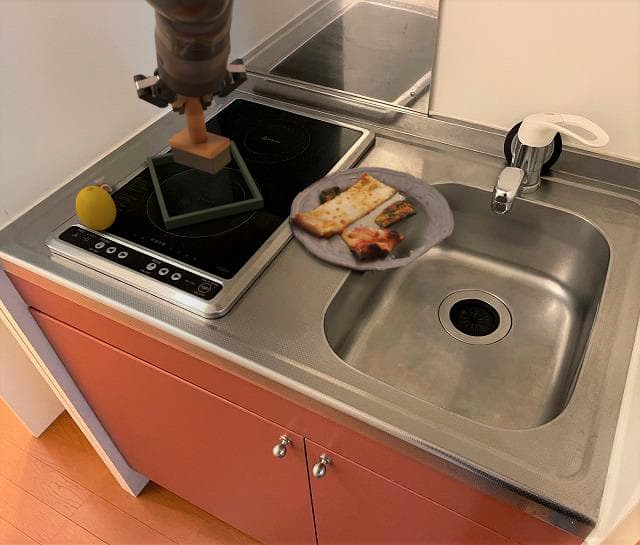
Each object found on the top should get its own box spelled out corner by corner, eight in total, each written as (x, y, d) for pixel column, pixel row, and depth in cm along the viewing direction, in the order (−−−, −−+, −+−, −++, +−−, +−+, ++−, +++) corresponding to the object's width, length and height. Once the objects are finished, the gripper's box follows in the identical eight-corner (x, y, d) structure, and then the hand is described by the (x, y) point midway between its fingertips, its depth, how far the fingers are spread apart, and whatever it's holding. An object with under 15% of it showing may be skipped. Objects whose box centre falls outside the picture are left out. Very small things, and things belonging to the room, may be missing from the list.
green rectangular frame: (264, 211, 92) (263, 199, 90) (167, 234, 88) (164, 221, 86) (234, 151, 105) (233, 140, 104) (149, 169, 102) (146, 157, 100)
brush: (173, 162, 80) (155, 83, 72) (191, 148, 83) (177, 71, 75) (214, 175, 77) (201, 95, 70) (232, 160, 80) (221, 81, 72)
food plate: (364, 303, 77) (365, 284, 74) (259, 224, 90) (257, 205, 87) (478, 224, 89) (483, 206, 86) (371, 164, 101) (372, 147, 99)
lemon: (129, 225, 90) (115, 183, 84) (102, 245, 86) (86, 202, 81) (104, 214, 92) (90, 172, 86) (77, 233, 89) (60, 190, 83)
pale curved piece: (108, 190, 97) (101, 170, 94) (116, 194, 96) (109, 174, 93) (93, 198, 95) (86, 178, 92) (101, 203, 94) (94, 183, 91)
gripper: (248, 4, 61) (234, 70, 78) (115, 22, 58) (130, 87, 75) (265, 71, 61) (248, 123, 78) (133, 93, 58) (145, 142, 75)
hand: (190, 105), depth 76 cm, fingers closed on brush, 2 cm apart
